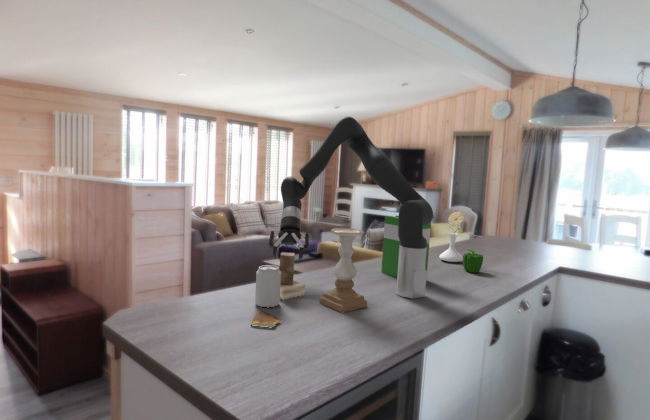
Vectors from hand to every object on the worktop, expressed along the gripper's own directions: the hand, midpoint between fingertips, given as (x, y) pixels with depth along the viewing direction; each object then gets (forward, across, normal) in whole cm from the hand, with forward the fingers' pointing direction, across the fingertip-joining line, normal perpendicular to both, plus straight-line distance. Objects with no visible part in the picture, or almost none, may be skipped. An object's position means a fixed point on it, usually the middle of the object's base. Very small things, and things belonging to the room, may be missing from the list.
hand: (287, 258), depth 147 cm
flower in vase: (-31, +78, +47) cm, 96 cm away
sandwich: (+31, -5, -15) cm, 35 cm away
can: (+21, -5, -6) cm, 22 cm away
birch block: (+13, 0, +3) cm, 13 cm away
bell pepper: (-18, +80, +33) cm, 89 cm away
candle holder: (+19, +19, -4) cm, 27 cm away
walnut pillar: (+10, 0, 0) cm, 10 cm away
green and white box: (-8, +46, +24) cm, 53 cm away
